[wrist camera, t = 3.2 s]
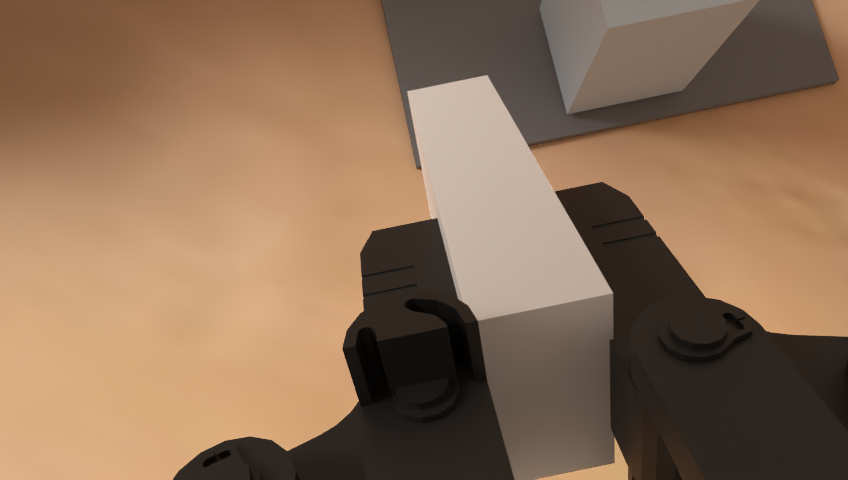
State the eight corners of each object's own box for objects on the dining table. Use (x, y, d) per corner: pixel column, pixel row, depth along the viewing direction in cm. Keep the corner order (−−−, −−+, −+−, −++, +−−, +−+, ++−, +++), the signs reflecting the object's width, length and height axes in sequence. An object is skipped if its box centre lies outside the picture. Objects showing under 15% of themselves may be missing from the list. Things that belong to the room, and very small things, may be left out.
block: (565, 116, 34) (607, 28, 25) (538, 11, 35) (569, -108, 26) (680, 92, 34) (762, -4, 25) (649, -12, 35) (717, -138, 26)
